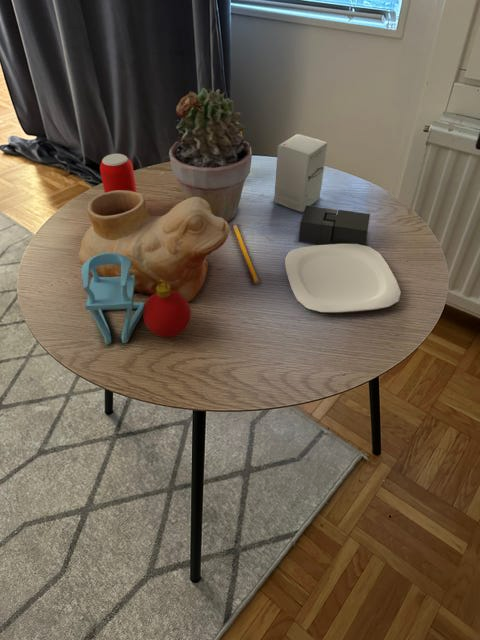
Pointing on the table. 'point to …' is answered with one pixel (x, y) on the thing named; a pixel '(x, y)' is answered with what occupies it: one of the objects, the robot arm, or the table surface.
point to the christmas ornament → (166, 312)
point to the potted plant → (211, 152)
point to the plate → (341, 278)
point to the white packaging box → (299, 172)
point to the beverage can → (117, 173)
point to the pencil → (245, 254)
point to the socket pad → (316, 226)
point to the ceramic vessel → (154, 241)
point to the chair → (111, 293)
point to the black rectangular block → (349, 227)
